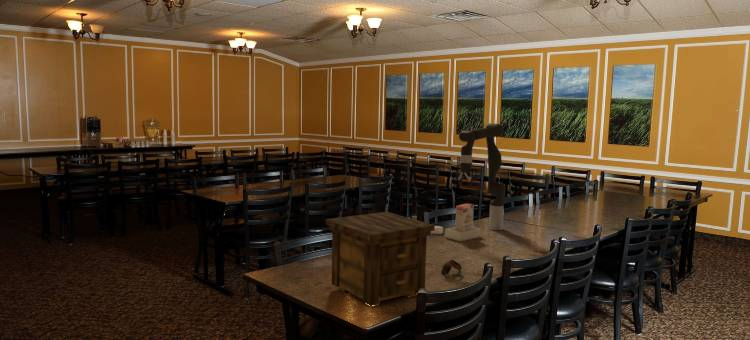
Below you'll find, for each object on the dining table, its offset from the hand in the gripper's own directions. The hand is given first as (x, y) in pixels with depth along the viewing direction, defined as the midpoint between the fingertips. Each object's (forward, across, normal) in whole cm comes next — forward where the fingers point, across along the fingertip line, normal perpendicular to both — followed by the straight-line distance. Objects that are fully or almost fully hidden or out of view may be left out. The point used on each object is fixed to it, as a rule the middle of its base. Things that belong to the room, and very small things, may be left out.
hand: (465, 186), depth 342 cm
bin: (+34, 0, 0) cm, 34 cm away
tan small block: (+34, +19, +5) cm, 39 cm away
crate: (+34, -47, +112) cm, 126 cm away
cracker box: (+33, 0, 0) cm, 33 cm away
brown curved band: (+34, -48, +65) cm, 88 cm away
